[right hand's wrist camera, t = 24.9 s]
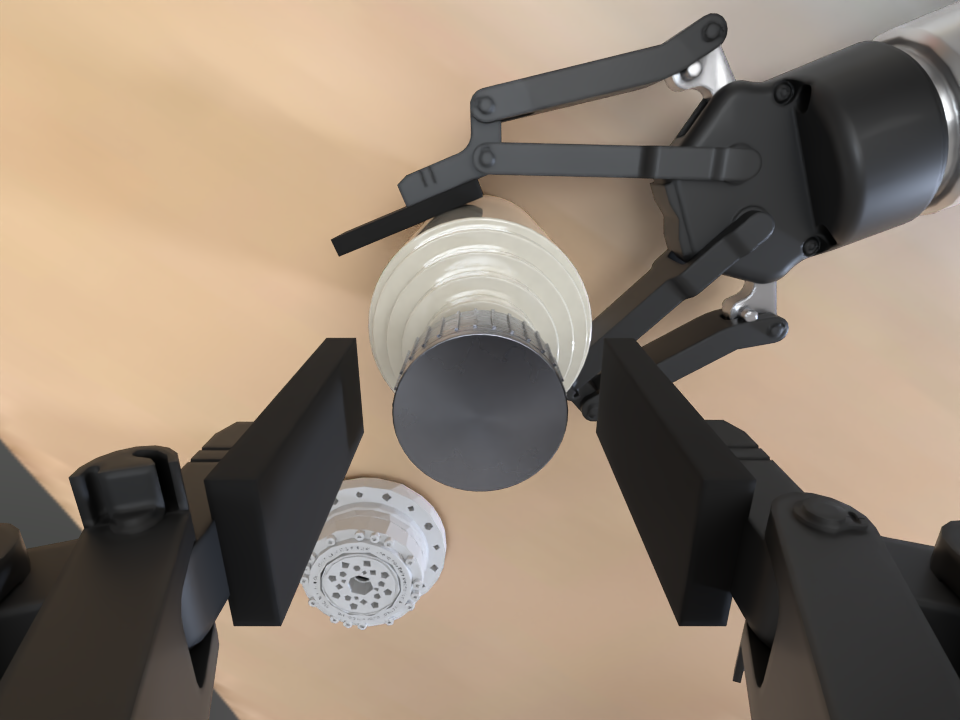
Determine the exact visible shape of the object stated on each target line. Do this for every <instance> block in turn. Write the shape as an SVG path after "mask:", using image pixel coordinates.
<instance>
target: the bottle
mask: <svg viewBox="0 0 960 720" xmlns="http://www.w3.org/2000/svg"><path fill="white" fill-rule="evenodd" d="M474 308H477V310H489V311H491V309H494V310H495V311H496V312H500V313H504V314H507V315H508V313H510V314H511V316H512V317H515V318H517V319H518V320H520V321H522V322H523V321H526V323H527V325H528V326H529V327H531V328H532V329H533V330H534V331H535V332H536V331H538V332H539V334H540V337H541V338H542V340H543V341H544V342H545V344H547V343H548V344H549V346H550V349H551V352H552V354H553V357H555V358H556V361H557V364H558V366H559V369H560V372H561V374H562V377H563V379H564V382H563V385H564V387H565V390H566V393H567V391H568V390H569V389H570V387H571V386H572V384H573V383H574V382H575V380H576V379H577V377H578V375H579V373H580V371H581V369H582V367H583V365H584V363H585V360H586V357H587V354H588V351H589V346H590V341H591V332H592V316H591V307H590V303H589V298H588V294H587V292H586V289H585V286H584V283H583V281H582V279H581V277H580V275H579V274H578V272H577V270H576V268H575V267H574V266H573V264H572V263H571V261H570V260H569V259H568V257H567V256H566V255H565V254H564V253H563V252H562V251H561V250H560V248H559V247H558V246H557V245H556V244H555V243H554V242H553V241H552V240H551V239H550V237H549V236H548V235H547V234H546V233H545V232H544V231H543V230H542V229H541V228H540V226H539V225H538V224H537V223H536V222H535V221H534V220H533V219H532V218H531V217H530V216H529V215H528V214H527V212H525V211H524V210H523V209H522V208H520V207H519V206H517V205H516V204H514V203H512V202H510V201H508V200H506V199H503V198H500V197H496V196H491V195H483V197H482V198H479V199H477V200H475V201H472V202H470V203H467V204H465V205H463V206H460V207H458V208H455V209H453V210H450V211H448V212H446V213H443V214H441V215H438V216H436V217H434V218H431V219H429V220H426V221H425V222H424V224H423V225H422V226H421V227H420V228H419V229H418V230H417V231H416V232H415V233H414V235H413V236H412V237H411V238H410V239H409V240H408V241H407V242H406V243H405V245H404V246H403V247H402V248H401V249H400V250H399V251H398V252H397V253H396V254H395V256H394V257H393V258H392V259H391V260H390V262H389V263H388V265H387V266H386V268H385V269H384V270H383V272H382V274H381V276H380V278H379V280H378V282H377V284H376V287H375V290H374V293H373V296H372V299H371V304H370V309H369V322H368V328H369V340H370V344H371V349H372V353H373V356H374V359H375V362H376V364H377V367H378V369H379V371H380V372H381V374H382V376H383V378H384V380H385V381H386V383H387V384H388V385H389V387H390V388H391V390H392V391H393V392H394V393H395V391H396V390H394V387H395V384H396V382H397V379H398V377H399V373H400V370H401V368H402V365H403V363H404V360H405V357H406V355H407V352H408V350H409V351H411V349H412V348H413V345H414V342H415V339H416V338H417V337H418V338H419V337H420V336H421V335H422V334H423V333H424V332H425V331H426V329H427V327H428V326H430V327H431V326H432V325H434V324H435V323H437V322H438V321H440V320H441V318H442V317H444V318H446V317H448V316H451V315H453V314H457V311H460V312H464V311H471V310H474Z"/></svg>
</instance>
